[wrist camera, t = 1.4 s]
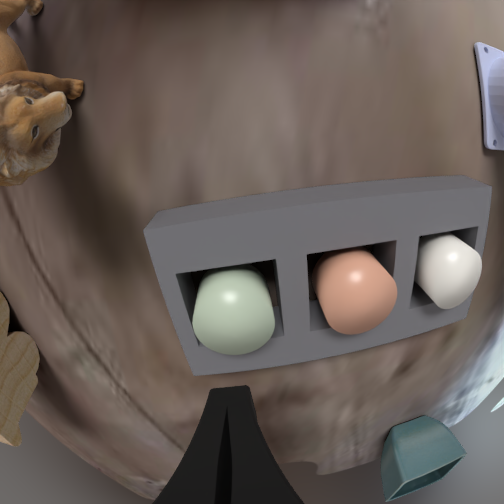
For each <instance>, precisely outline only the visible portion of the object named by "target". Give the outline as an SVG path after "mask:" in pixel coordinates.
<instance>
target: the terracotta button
mask: <svg viewBox="0 0 504 504" xmlns="http://www.w3.org/2000/svg"><path fill="white" fill-rule="evenodd" d="M312 286H313V289H314V291H315V293H316V296H317V298H318V300H319V303H320V305H321V308H322V310H323V312H324V315H325V317H326V319H327V322H328V324H329V325H330V326H331V327H332V328H333V329H334V330H335V331H337V332H339V333H343V334H350V335H352V334H360V333H364V332H366V331H369V330H371V329H373V328H375V327H376V326H378V325H379V324H380V323H381V322H383V321H384V320H385V319H386V318H387V316H388V315H389V314H390V313H391V311H392V309H393V307H394V305H395V302H396V299H397V286H396V283H395V281H394V279H393V278H392V277H391V275H390V274H389V273H388V272H387V271H386V270H385V269H384V267H383V266H382V265H381V264H380V263H379V262H378V261H377V259H376V258H375V257H374V256H373V255H372V254H371V253H370V252H369V251H368V250H367V249H366V248H365V247H363V246H356V247H349V248H343V249H337V250H331V251H327V252H326V253H324V254H323V255H322V256H321V258H320V259H319V260H318V262H317V263H316V265H315V267H314V270H313V273H312Z"/></svg>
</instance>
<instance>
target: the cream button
mask: <svg viewBox="0 0 504 504" xmlns="http://www.w3.org/2000/svg"><path fill="white" fill-rule="evenodd" d="M481 270H482V261H481V257H480V255H479V254H478V252H476V251H475V250H474V249H473V248H471V247H470V246H468V245H467V244H466V243H464V242H463V241H461V240H460V239H458V238H457V237H456V236H454V235H453V234H451V233H450V232H448V231H447V232H441V233H435V234H429V235H424V236H423V237H422V238H421V239H420V240H419V243H418V252H417V260H416V268H415V275H414V280H415V282H416V283H417V284H418V285H419V286H420V287H421V288H422V289H423V290H424V291H425V292H426V294H427V295H428V296H429V297H430V298H431V299H432V300H433V301H434V302H435V304H436V305H437V306H438V307H440V308H442V309H450V308H454V307H456V306H458V305H459V304H461V303H462V302H463V301H465V300H466V299H467V298H468V297H469V296H470V294H471V293H472V292H473V290H474V289H475V287H476V285H477V283H478V281H479V278H480V275H481Z"/></svg>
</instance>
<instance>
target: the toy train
mask: <svg viewBox="0 0 504 504" xmlns="http://www.w3.org/2000/svg"><path fill="white" fill-rule="evenodd" d="M9 312H10V309H9V306H8V303H7V301H6V299H5V297H4V296H3V294H2V293H1V292H0V442H3V443H6V444H9V445H12V446H19V445H20V444H21V443H22V442H21V440H22V439H21V433H20V429H19V424H18V422H19V420H20V418H21V416H22V413H23V411H24V409H25V407H26V405H27V403H28V401H29V399H30V397H31V395H32V393H33V391H34V389H35V388H36V386H37V384H38V378H37V376H36V372H37V370H38V367H39V360H40V357H39V352H38V348H37V346H36V343H35V342H34V341H33V339H32V338H31V336H30V335H28V334H26V333H25V332H17V331H16V332H10V333H8V327H9Z"/></svg>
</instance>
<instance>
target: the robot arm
mask: <svg viewBox="0 0 504 504" xmlns="http://www.w3.org/2000/svg"><path fill="white" fill-rule="evenodd" d="M474 47H475V53H476V58H477V64H478V71H479V78H480V86H481V95H482V106H483V123H484V145H485V147H486V148H488V149H492V150H504V52H503V51H501V50H498V49H496V48H494V47H491V46H489V45H486V44H483V43H481V42H476V43H475V45H474ZM484 50H485V51H484ZM493 142H494V143H493ZM153 504H304V503H303V501H302V500H301V499H300V497H299V496H298V495H297V494H296V492H295V491H294V489H293V488H292V486H291V485H290V484H289V482H288V480H287V479H286V478H285V476H284V474H283V473H282V471H281V469H280V468H279V466H278V464H277V462H276V461H275V459H274V457H273V455H272V453H271V451H270V449H269V447H268V445H267V443H266V441H265V439H264V437H263V434H262V432H261V430H260V427H259V425H258V422H257V416H256V411H255V407H254V403H253V399H252V395H251V392H250V388H249V387H248V386H246V385H244V386H235V387H225V388H214V389H211V390H210V392H209V396H208V399H207V402H206V405H205V408H204V411H203V414H202V416H201V419H200V422H199V424H198V427H197V429H196V431H195V434H194V436H193V438H192V440H191V443H190V445H189V447H188V449H187V451H186V452H185V454H184V456H183V458H182V460H181V462H180V464H179V466H178V467H177V469H176V471H175V472H174V474H173V476H172V477H171V479H170V480H169V482H168V483H167V485H166V486H165V488H164V489H163V490H162V492H161V493H160V494H159V496H158V497H157V498H156V500H155V501H154V502H153Z"/></svg>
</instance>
